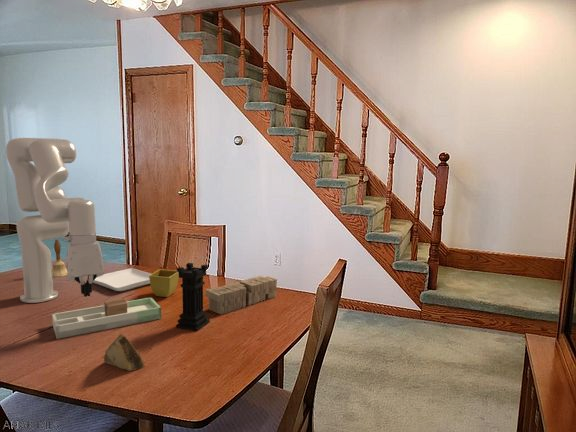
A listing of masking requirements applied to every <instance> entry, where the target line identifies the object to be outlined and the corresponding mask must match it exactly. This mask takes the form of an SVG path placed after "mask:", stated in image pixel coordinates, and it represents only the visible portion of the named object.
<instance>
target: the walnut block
mask: <svg viewBox="0 0 576 432" xmlns="http://www.w3.org/2000/svg"><path fill="white" fill-rule="evenodd" d="M103 303H104V304H103V305H104V307H105V315H106V316H112V315H117V314H123V313H127V303H126V300H125V299H124V298H123V297H121V298H114V299H108V300H104V301H103Z"/></svg>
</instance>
